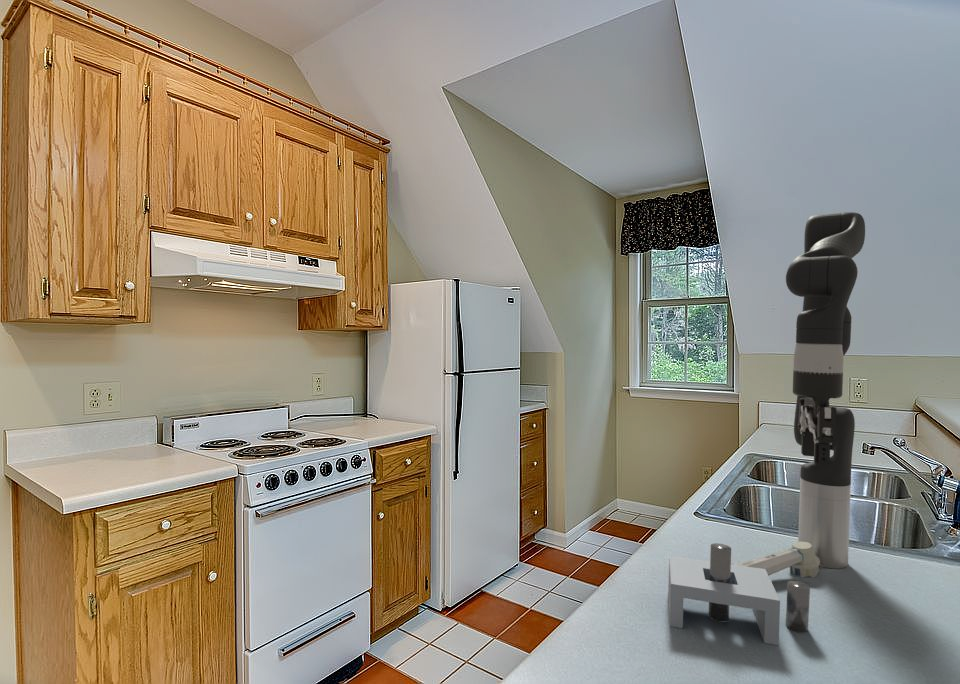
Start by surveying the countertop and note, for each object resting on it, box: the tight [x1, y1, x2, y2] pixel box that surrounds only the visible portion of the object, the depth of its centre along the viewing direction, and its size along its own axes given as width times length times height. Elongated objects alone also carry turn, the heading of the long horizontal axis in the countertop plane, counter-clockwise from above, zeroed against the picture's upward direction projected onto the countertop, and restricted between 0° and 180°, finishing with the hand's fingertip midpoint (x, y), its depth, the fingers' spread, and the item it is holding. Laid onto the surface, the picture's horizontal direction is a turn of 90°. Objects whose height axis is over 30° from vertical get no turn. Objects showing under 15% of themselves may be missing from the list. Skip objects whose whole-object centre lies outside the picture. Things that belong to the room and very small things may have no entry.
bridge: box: [667, 555, 781, 646], centre depth 93 cm, size 12×16×7 cm
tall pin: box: [708, 543, 732, 623], centre depth 93 cm, size 3×3×12 cm
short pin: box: [785, 580, 811, 634], centre depth 90 cm, size 3×3×7 cm
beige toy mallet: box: [730, 541, 820, 584], centre depth 108 cm, size 5×7×25 cm
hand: (814, 460), depth 97 cm, fingers open, 8 cm apart
